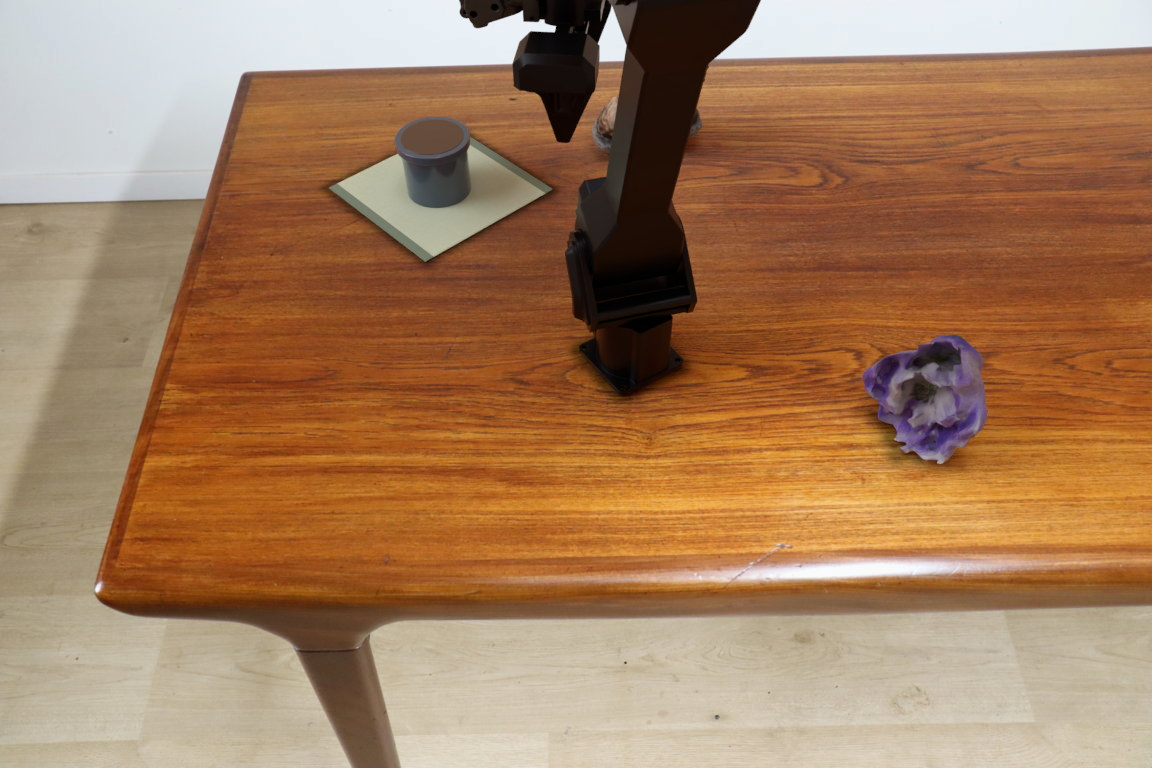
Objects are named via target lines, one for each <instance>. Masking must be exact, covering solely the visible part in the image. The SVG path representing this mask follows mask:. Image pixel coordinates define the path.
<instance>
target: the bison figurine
mask: <svg viewBox="0 0 1152 768" xmlns="http://www.w3.org/2000/svg"><path fill="white" fill-rule="evenodd" d="M708 69H710V64H709V65H708V67H707V71H706V74H705V78H704V82H705V81H706V75H707V72H708ZM618 97H619V96H617V95H615V96H613V97H612V98H610V100H609V101H608V102H607V103H606V105H604V106H602V108H601V109H600V111H599V113H598V116H597V117H596V119H595V121H594V122H593V125H592V128H591V136H592V140H593V142H594V144H595V145H596V147H597V149H599V150H600V151H601V152H603V153H605V154H609V155H610V148H611V142H612V135H613V129H614V123H615V116H616V110H617V103H618ZM702 128H703V121H702V120H701V115H700V111H699V110H698V108H696V112H695V116H694V119H693V123H692V127H691V131H690V134H689V138H688V140H689V139H691V138H694V137H695V135H696V134H697V133H699V131H701V130H702Z"/></svg>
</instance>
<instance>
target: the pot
mask: <svg viewBox="0 0 1152 768" xmlns="http://www.w3.org/2000/svg"><path fill="white" fill-rule="evenodd" d="M470 137H471V133H470V130H469V128H468V127H467V126H466V125H465V124H464V123H463V122H461V121H459V120H457V119H454V118H451V117H446V116H445V117H444V116H428V117H423V118H419V119H415V120H412V121H410V122H408V123H406V124H404V125H403V126H402V127H400V129H398V131H397V132H396V134H395V136H394V146H395V151H396V154H399V156H400V157H401V158H402V163H403V169H404V175H405V180H406V186H407V192H408V195H409V197H410V199H411V200H412V201H413V202H415V203H416V204H418V205H421V206H424V207H429V208H443V207H448V206H452V205H455V204H457V203H459V202H461V201H462V200H464V199H465V198H466V197H467V196H468V195H469V193H470V191H471V178H470V169H469V160H468V151H467V150H468V148H469V146H470Z"/></svg>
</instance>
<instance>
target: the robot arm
mask: <svg viewBox="0 0 1152 768" xmlns="http://www.w3.org/2000/svg"><path fill="white" fill-rule="evenodd" d="M458 1H459V5H460V9H459V15H460V17H461V18H463V19H468V20H469V22H470V23H471V24H472V26H473V28H475V29H482V28H485V27H487V26H489V24H490V23H493V22H496V21H499V20H503V19H506V18H509V17H512V16H515V15H517V14H519V13H522V20H523V22H524V23H525V22H526V23H539V22H540V21H541V20H542V21H544V24H545V25H549V26H553V27H555V29H554V31H538V30H537V31H534V30H530V31H529V32H528V33H527V34H526V35H524V37H523V38H521V40H519V42H518V44H517V48H516V51H515V54H514V57H513V60H512V63H511V64H512V81H513V87H514V88H515V89H517V90H518V91H521V92H522V91H523V92H526V93H535V94H536V95H537V96H538V97H539V98H540V100H541V102H542V105H543V107H544V109H545V113H546V115H547V118H548V121H549V124H550V126H551V130H552V132H553V134H554V137H555V141H556V142H557V143H562V144H568V143H570V142H571V140H572V138H573V136H574V134H575V131H576V129H577V127H578V125H579V123H580V120H581V118H582V116H583V114H584V112H585V110H586V107H587V105H588V103H589V101H590V99H591V97H592V95H593V94H594V93H595V91H596V88H597V83H598V78H599V72H600V58H601V57H600V52H601V51H600V49H601V48H600V47H601V46H600V44H599V42H600V39H601V37H602V35H603V32H604V29H605V26H606V24H607V22H608V19H609V16H610V14H611V11H612V10H613V12H614V16H615V18H616V20H617V24H618V27H619V29H620V31H621V35H622V37H623V41H624V43H625V45H626V47H625V53H624V59H623V64H622V65H623V66H622V71H621V72H622V73H621V79H620V83H619V92H618V96H617V97H618V103H617V110H616V116H615V123H614V129H613V135H612V142H611V148H610V154H609V155H608V162H607V167H606V176H603V177H596V178H590V179H584V180H583V182H581V184H580V186H579V188H578V195H577V198H578V199H577V205H576V209H575V211H574V212H575V216H576V217H575V218H576V219H575V222H574V230H570V231H569V233H568V240H566V245H567V248H566V250H565V251H564V257H565V258H564V259H565V263H566V264H565V265H566V269H567V277H568V282H569V287H570V294H571V305H572V306H571V308H572V309H571V312H572V315H573V318H574V319H575V320H576V319H577V320H580V321H582V323H585V326H586V327H587V329H588V332H589V333H592V335H593V338H591V339H588V340H586V341H584V342H583V343H580V344H579V345H578V353H579V354H580V355H581V357H583V358H584V360H585V361H586V362H587V363H588V364H589V365H590V366H591V367H592V368H593V370H595V372H596V373H597V374H598V375H599V376H600V377H601V378H602V379H603V380H604V381H605V382H606V383H607V384H608V386H610V387H611V388H612V390H614V392H615V393H616V394H617V395H619V396H620V397H625V396H628V395H629V394H631V393H633V392H635V391H637V390H639V389H642V388H643V387H646V386H647V385H649V384H650V383H653V382H655V381H656V380H658V379H660V378H663V377H664V376H667V375H669V374H671V373H672V372H674V371H676V370H679V369H680V368H682V367H683V366H684V362H685V361H684V358H683V357H682V356H681V355H680V353H678V352H677V350H675V349H674V348H673V347H672V346H671V344H672V343H671V342H672V331H673V319H674V315H679V314H683V313H685V314H691V313H693V312H694V310H695V308H696V305H697V303H698V295H697V289H696V285H695V279H694V273H693V269H692V263H691V258H690V254H689V253H690V252H689V249H688V242H687V237H686V232H685V227H684V224H683V221H682V219H681V216H680V215H679V214H678V212H677V209H676V207H675V204H674V201H673V197H674V193H675V190H676V186H677V184H678V179H679V177H680V176H679V175H680V171H681V167H682V165H683V164H682V163H683V160H684V156H685V152H686V149H687V145H688V142H689V139H690V138H689V134H690V131H691V127H692V123H693V119H694V116H695V112H696V108H697V107H698V104H699V101H700V96H701V93H702V89H703V85H704V82H705V81H704V78H705V79H706V76H705V74H706V75H707V72H708V70H707V67H708V65H709V66H710V63H712V62H713V61H714V60H715V59H716V58H718V57H719V56H720V55H721V54H722V53H724V52H725V50H727V49H728V48H729V47H730V46H732V44H734V43H735V42H736V41H737V40H739V38H741V37H742V36H743V35H744V34H745V33H746V32H747V31H748V29H749V28H750V25H751V23H752V21H753V18H754V16H755V15H756V13H757V11H758V9H759V5H760V4H761V1H762V0H458ZM706 71H707V72H706ZM697 109H698V108H697ZM688 138H689V139H688Z"/></svg>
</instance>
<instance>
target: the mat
mask: <svg viewBox="0 0 1152 768" xmlns="http://www.w3.org/2000/svg"><path fill="white" fill-rule="evenodd" d="M467 151H468V160H469V169H470V178H471V191H470V193H469V195H468V196H467V197H466V198H465V199H464V200H462V201H461V202H459V203H457V204H455V205H452V206H448V207H443V208H429V207H424V206H421V205H418V204H416V203H415V202H413V201H412V200H411V199H410V197H409V195H408V192H407V186H406V180H405V175H404V169H403V163H402V158H401V157H400V156H399V154H398V153H396V154H394V155H393V156H389V157H388V158H386V159H384V160H382V161H380V162H378V163H376V164H374V165H372V166H369V167H368V168H366V169H363V170H361V171H360V172H358V173H355V174H354V175H352V176H349V177H347V178H345V179H344V180H342V181H339V182H337V183H335V184H333V185H331V186H329V187H328V189H329V190H330V191H332V193H334V194H336V195H337V196H338V197H339V198H341V199H342V200H343V201H344V202H346V203H347V204H348V205H350V206H351V207H352V208H354V209H355V210H357V211H358V213H360V214H362V215H363V216H364V217H366V218H367V219H368V220H369V221H371V222H372V223H373V224H375V225H376V226H377V227H378V228H380V229H381V230H383V231H384V232H385V233H386V234H388V235H389V236H390V237H392V238H393V239H394V240H396V241H397V243H399V244H401V246H403V247H405V248H406V249H407V250H409V251H410V252H411V253H412V254H414V256H416V257H417V258H419V259H420V260H421V261H423V262H424V263H426V262H428V261H430V260H432V259H434V258H435V257H437V256H439V255H440V254H442V253H444V252H446V251H448V250H449V249H451V248H453V247H455V246H456V245H458V244H460V243H462V242H464V241H465V240H467V239H469V238H471V237H473V236H474V235H476V234H478V233H479V232H482V231H483V230H485V229H486V228H488V227H490V226H492V225H494V224H495V223H497V222H499V221H501V220H502V219H504V218H506V217H507V216H510V215H511V214H513V213H514V212H516V211H519V210H520V209H522V208H524V207H525V206H527V205H529V204H531V203H533V202H534V201H536V200H537V199H540V198H541V197H544V195H546V194H548V193H550V192H552V191H553V190H554V189H553V188H552V187H550V186H549V185H547V184H546V183H544V182H543V181H541V180H540V179H537V178H536V177H535V176H533V175H532V174H530V173H528V172H526V171H525V170H524V169H522V168H520V167H519V166H518V165H516V164H514V163H513V162H511V161H509V160H508V159H506V158H505V157H503V156H502V155H500V154H498V153H497V152H495V151H494V150H492V149H491V148H489V147H487V146H485V145H484V144H482V143H481V142H479V141H478V140H476V139H475V138H473V137H472V136H470V146H469V148H468V150H467Z"/></svg>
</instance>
